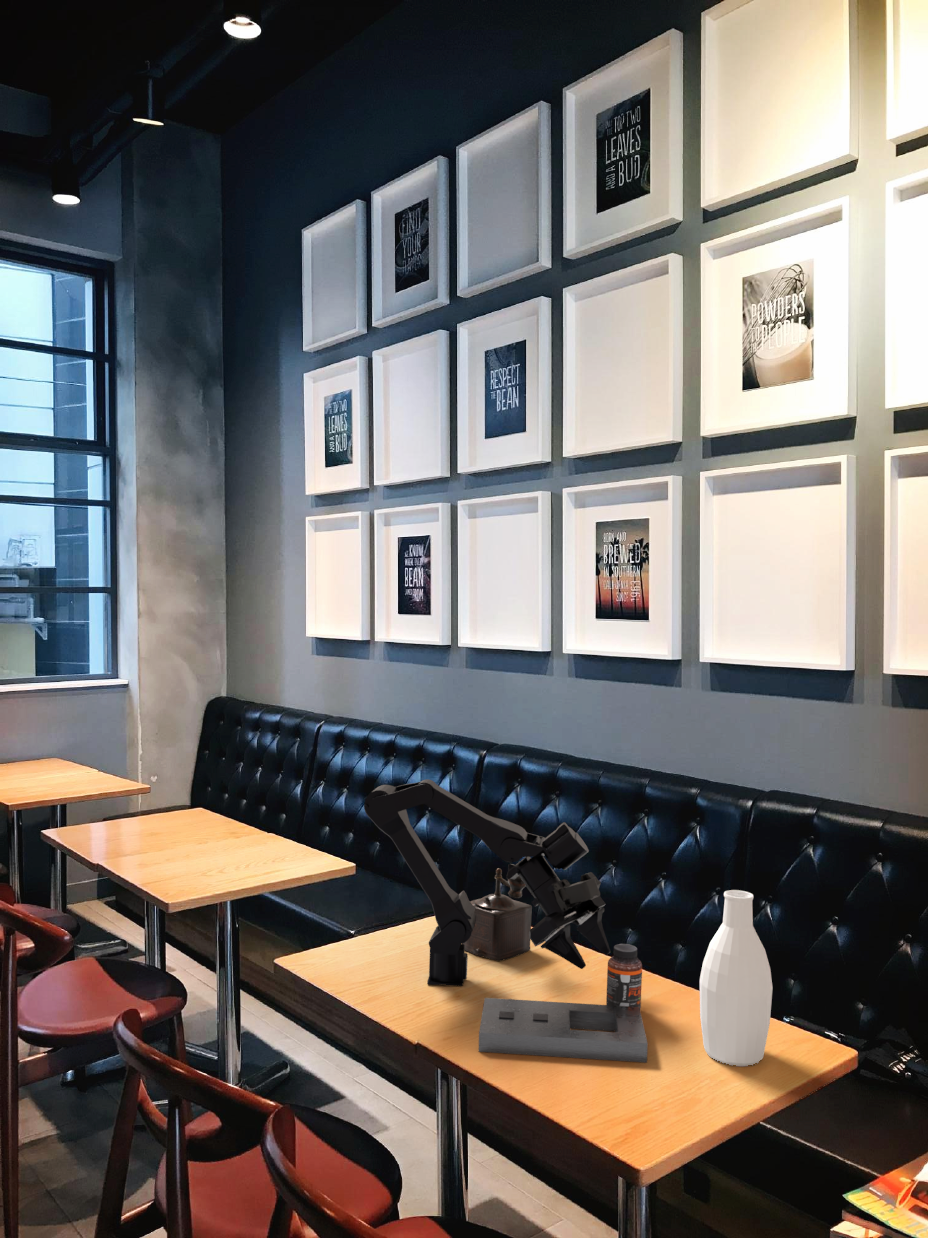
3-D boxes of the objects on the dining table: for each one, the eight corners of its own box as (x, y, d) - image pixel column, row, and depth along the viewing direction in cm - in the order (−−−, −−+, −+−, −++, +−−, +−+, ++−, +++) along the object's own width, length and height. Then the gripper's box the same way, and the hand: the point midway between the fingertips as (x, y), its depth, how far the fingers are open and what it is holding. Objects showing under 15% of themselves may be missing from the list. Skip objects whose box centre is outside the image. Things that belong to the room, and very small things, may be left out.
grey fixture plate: (478, 1051, 157) (479, 1031, 157) (484, 1015, 171) (484, 996, 171) (646, 1062, 155) (647, 1042, 155) (638, 1025, 169) (639, 1006, 168)
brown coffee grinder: (457, 950, 203) (459, 861, 202) (493, 937, 211) (495, 852, 211) (515, 971, 192) (518, 877, 192) (551, 957, 200) (554, 867, 200)
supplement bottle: (632, 1022, 170) (634, 956, 169) (600, 1014, 173) (602, 948, 173) (646, 1011, 175) (647, 946, 174) (614, 1003, 178) (616, 939, 178)
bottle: (767, 1043, 163) (772, 887, 162) (773, 1074, 152) (779, 907, 151) (696, 1035, 165) (701, 881, 165) (698, 1065, 154) (703, 900, 154)
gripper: (547, 870, 172) (602, 949, 166) (597, 851, 187) (650, 922, 181) (506, 907, 176) (558, 985, 170) (559, 884, 192) (609, 955, 186)
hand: (596, 960), depth 177 cm, fingers open, 9 cm apart
